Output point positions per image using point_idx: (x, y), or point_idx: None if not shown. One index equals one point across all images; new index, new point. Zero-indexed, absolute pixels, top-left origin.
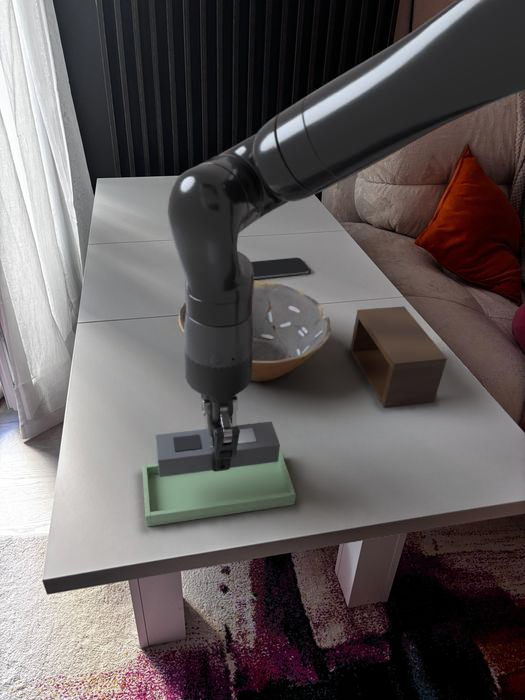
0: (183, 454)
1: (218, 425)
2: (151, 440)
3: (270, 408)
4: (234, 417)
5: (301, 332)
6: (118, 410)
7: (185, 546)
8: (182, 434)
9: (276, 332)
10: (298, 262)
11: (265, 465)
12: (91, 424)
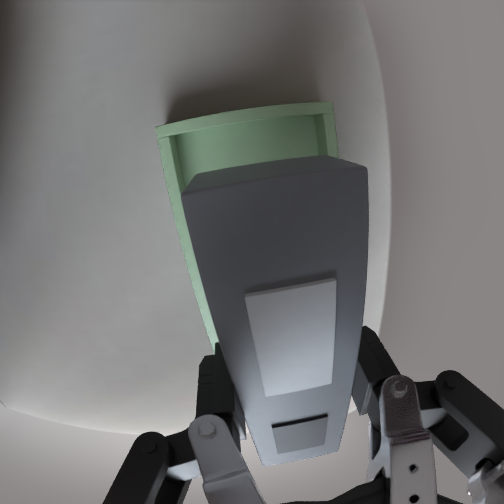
0: (335, 432)
1: (378, 476)
2: (150, 372)
3: (22, 159)
4: (433, 493)
5: None
6: (105, 401)
7: (375, 309)
8: (266, 444)
9: None
10: None
11: (200, 163)
12: (141, 422)
